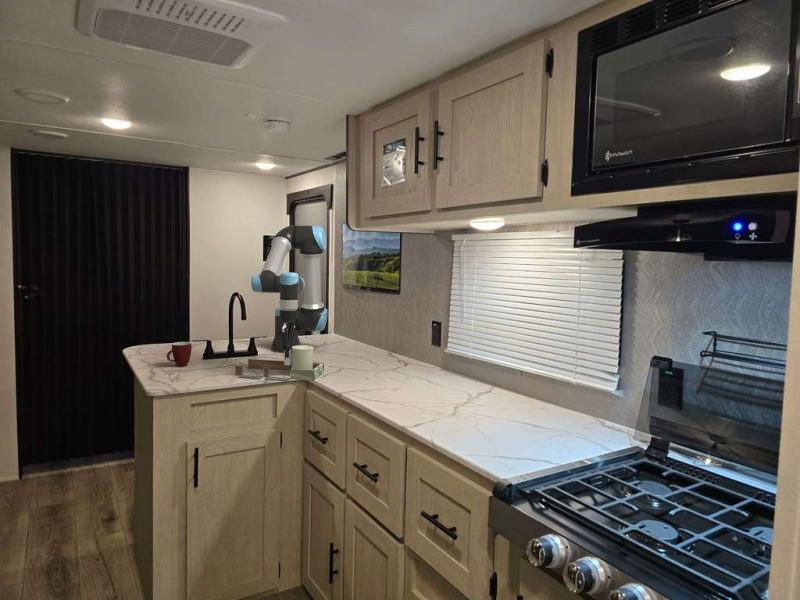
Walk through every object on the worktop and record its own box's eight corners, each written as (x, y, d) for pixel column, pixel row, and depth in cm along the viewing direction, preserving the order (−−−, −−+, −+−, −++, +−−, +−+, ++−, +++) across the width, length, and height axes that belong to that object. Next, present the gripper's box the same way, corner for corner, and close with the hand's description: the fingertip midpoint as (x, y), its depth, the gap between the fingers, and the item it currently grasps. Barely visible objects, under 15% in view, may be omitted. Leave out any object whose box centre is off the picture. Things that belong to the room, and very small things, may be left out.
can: (308, 377, 223) (309, 348, 222) (287, 375, 224) (288, 347, 223) (315, 372, 232) (316, 345, 231) (295, 370, 233) (296, 343, 232)
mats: (241, 375, 223) (241, 374, 223) (290, 378, 220) (290, 378, 220) (237, 377, 219) (237, 377, 219) (287, 381, 216) (287, 380, 216)
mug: (173, 369, 229) (173, 346, 228) (163, 366, 234) (162, 344, 233) (195, 365, 238) (195, 343, 237) (184, 362, 243) (184, 341, 242)
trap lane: (249, 367, 237) (249, 358, 237) (323, 372, 232) (323, 363, 232) (235, 375, 223) (235, 365, 223) (314, 380, 219) (314, 370, 218)
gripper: (285, 307, 231) (284, 361, 233) (274, 310, 218) (273, 367, 221) (302, 308, 230) (301, 362, 232) (292, 311, 217) (291, 368, 220)
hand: (287, 364), depth 227 cm, fingers closed
